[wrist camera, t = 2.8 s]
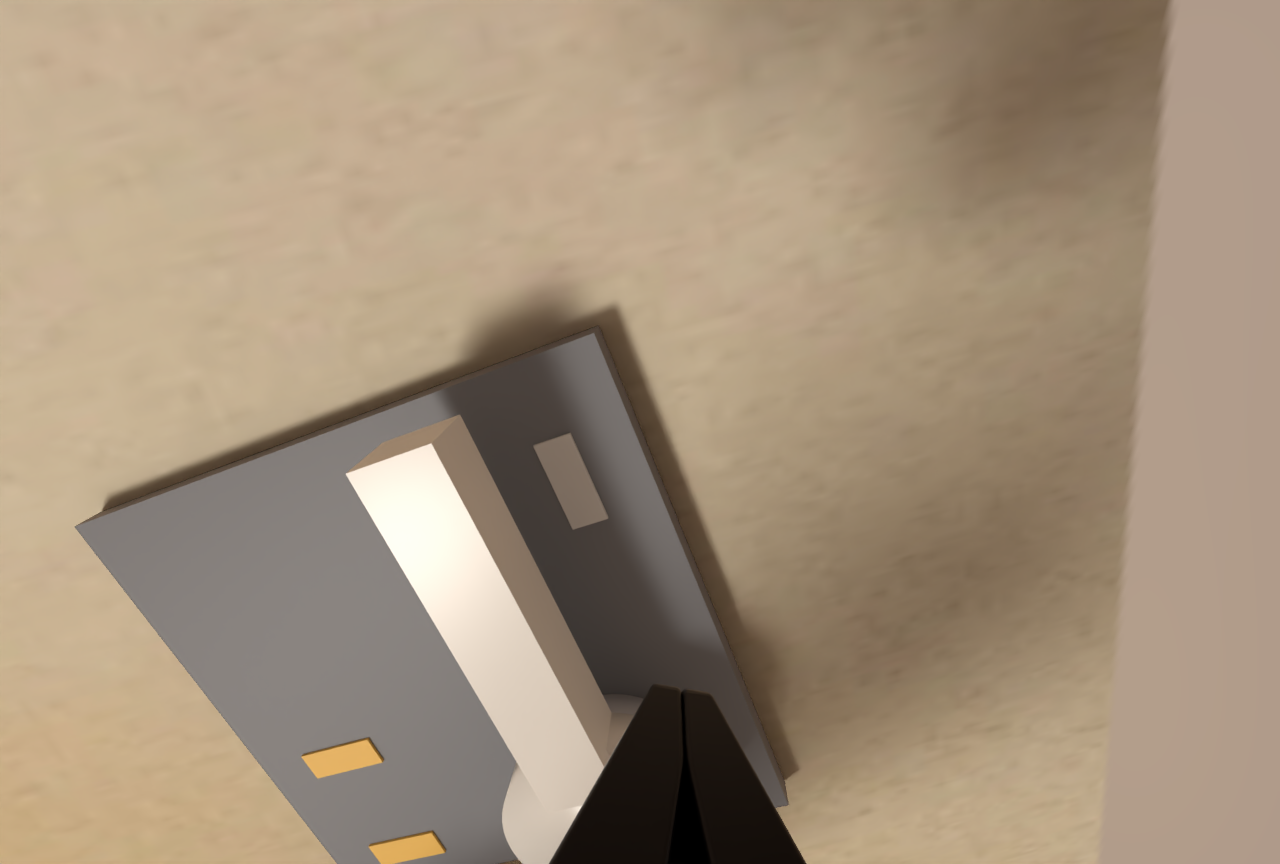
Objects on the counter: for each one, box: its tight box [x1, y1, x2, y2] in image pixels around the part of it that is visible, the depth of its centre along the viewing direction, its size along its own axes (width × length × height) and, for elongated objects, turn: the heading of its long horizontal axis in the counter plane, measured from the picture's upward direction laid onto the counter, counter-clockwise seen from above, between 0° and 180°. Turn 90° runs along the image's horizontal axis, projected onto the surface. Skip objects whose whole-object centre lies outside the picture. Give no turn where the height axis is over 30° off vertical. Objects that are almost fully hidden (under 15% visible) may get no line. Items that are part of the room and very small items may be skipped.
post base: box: [75, 326, 789, 864], centre depth 22 cm, size 19×19×2 cm
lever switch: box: [346, 415, 634, 864], centre depth 19 cm, size 18×7×2 cm, turn 21°
